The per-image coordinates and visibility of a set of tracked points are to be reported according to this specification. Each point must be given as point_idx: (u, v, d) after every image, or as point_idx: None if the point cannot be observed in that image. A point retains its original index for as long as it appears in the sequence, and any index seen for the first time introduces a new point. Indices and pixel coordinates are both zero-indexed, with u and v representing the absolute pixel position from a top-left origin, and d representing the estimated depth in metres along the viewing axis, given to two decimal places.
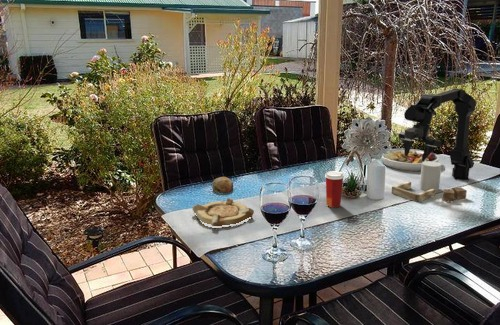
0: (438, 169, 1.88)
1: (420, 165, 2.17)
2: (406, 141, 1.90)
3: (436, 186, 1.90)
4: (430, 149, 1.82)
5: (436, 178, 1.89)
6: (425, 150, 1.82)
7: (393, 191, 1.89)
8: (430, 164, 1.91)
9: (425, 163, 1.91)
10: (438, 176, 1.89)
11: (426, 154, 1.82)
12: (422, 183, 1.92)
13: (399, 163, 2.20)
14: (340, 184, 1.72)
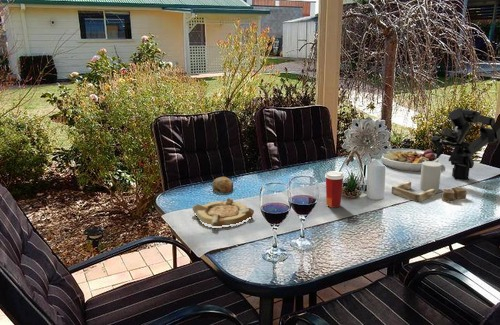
0: (438, 169, 1.88)
1: (420, 165, 2.17)
2: (441, 144, 1.99)
3: (436, 186, 1.90)
4: (458, 153, 1.93)
5: (436, 178, 1.89)
6: (455, 151, 1.92)
7: (393, 191, 1.89)
8: (430, 164, 1.91)
9: (425, 163, 1.91)
10: (438, 176, 1.89)
11: (454, 155, 1.93)
12: (422, 183, 1.92)
13: (399, 163, 2.20)
14: (340, 184, 1.72)
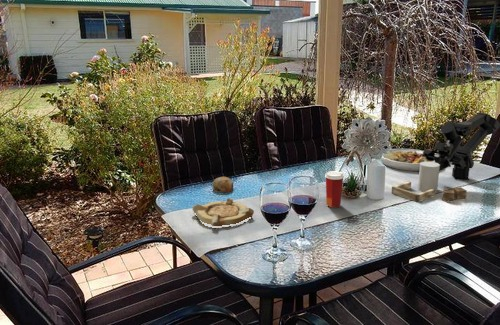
0: (436, 169, 1.87)
1: None
2: (438, 159, 1.95)
3: (434, 186, 1.90)
4: (444, 165, 1.94)
5: (435, 178, 1.88)
6: (440, 163, 1.93)
7: (393, 191, 1.89)
8: (428, 164, 1.90)
9: (423, 164, 1.90)
10: (436, 176, 1.89)
11: (440, 168, 1.94)
12: (420, 184, 1.92)
13: (399, 163, 2.20)
14: (340, 184, 1.72)
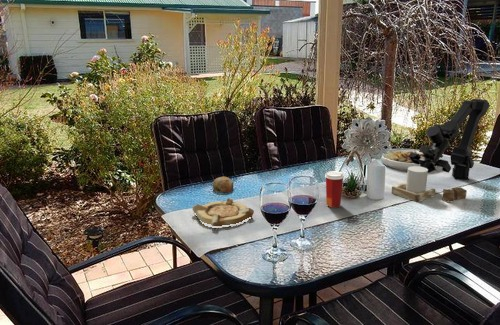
0: (426, 174, 1.82)
1: None
2: (424, 163, 1.89)
3: (424, 191, 1.84)
4: (429, 169, 1.89)
5: (425, 183, 1.83)
6: (425, 167, 1.88)
7: (393, 191, 1.89)
8: (417, 169, 1.83)
9: (412, 169, 1.83)
10: (426, 181, 1.83)
11: None
12: (411, 190, 1.84)
13: (399, 163, 2.20)
14: (340, 184, 1.72)
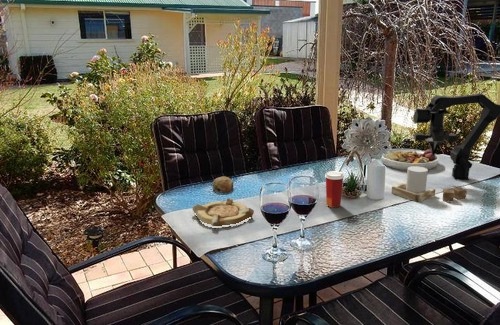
0: (426, 174, 1.82)
1: (420, 165, 2.17)
2: None
3: (424, 191, 1.84)
4: None
5: (425, 183, 1.83)
6: (437, 146, 2.03)
7: (393, 191, 1.89)
8: (417, 169, 1.83)
9: (412, 169, 1.83)
10: (426, 181, 1.83)
11: None
12: (411, 190, 1.84)
13: (399, 163, 2.20)
14: (340, 184, 1.72)
